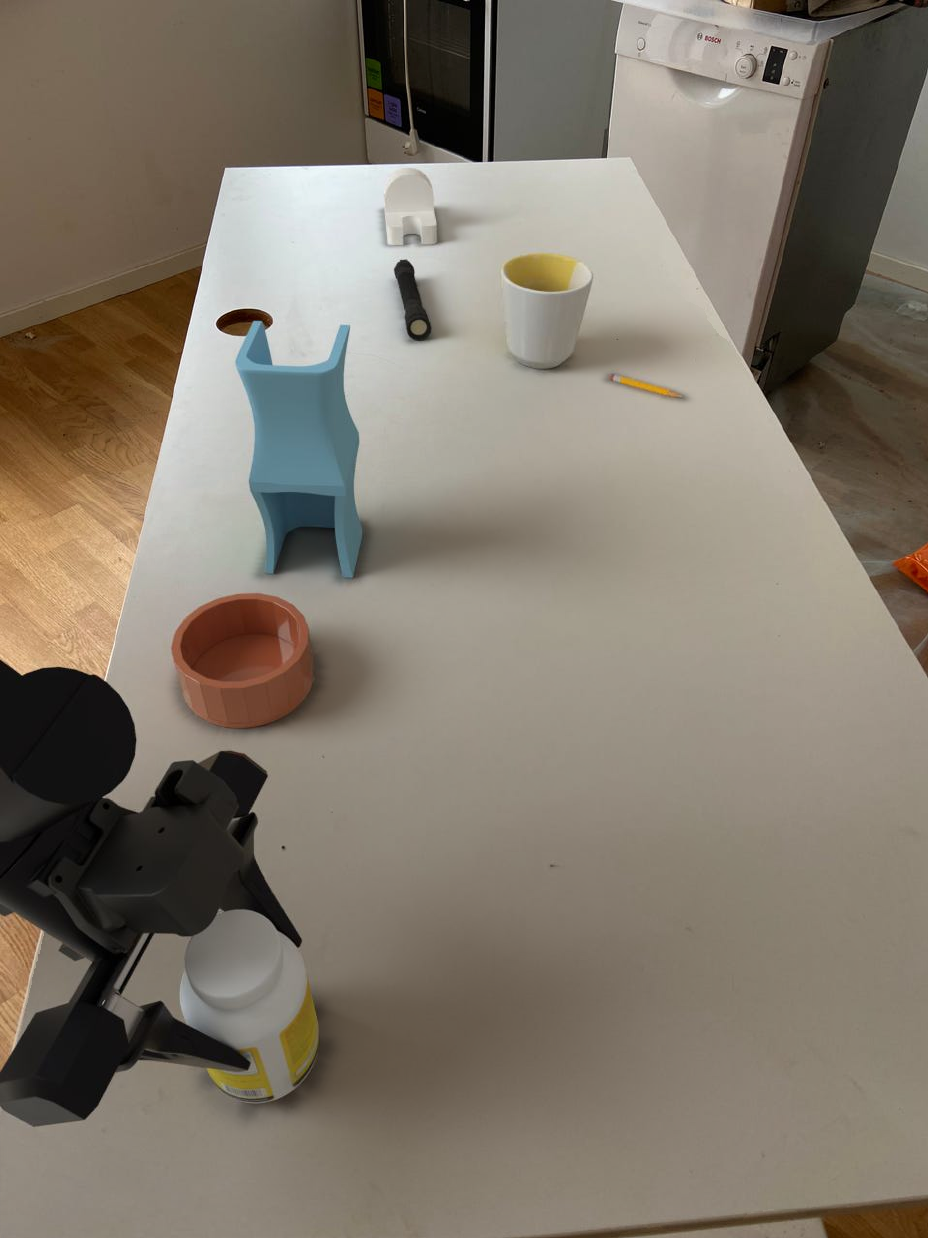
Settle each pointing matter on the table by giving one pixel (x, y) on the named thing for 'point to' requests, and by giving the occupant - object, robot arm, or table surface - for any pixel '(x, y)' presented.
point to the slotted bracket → (409, 207)
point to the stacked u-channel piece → (302, 446)
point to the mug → (544, 306)
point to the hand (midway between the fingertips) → (272, 1004)
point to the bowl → (244, 659)
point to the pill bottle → (251, 1004)
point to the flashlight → (412, 302)
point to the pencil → (643, 386)
